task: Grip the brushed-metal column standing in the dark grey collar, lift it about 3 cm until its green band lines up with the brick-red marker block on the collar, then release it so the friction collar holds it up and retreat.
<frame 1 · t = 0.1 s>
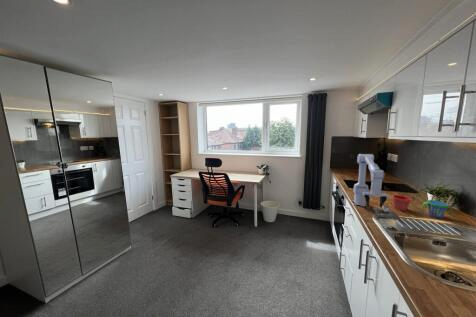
hand: (374, 206, 128), 10 cm above the counter, fingers open, 7 cm apart
collar: (384, 214, 137), on the counter
column: (385, 210, 137), point 3 cm above the counter, slide at 0.0 cm
snack cup: (435, 216, 134), on the counter
flower pot: (399, 209, 147), on the counter
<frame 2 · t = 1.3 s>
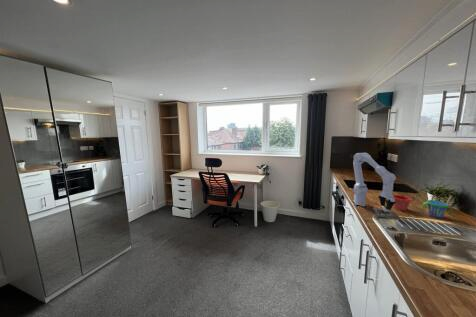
hand: (385, 207, 136), 6 cm above the counter, fingers open, 7 cm apart
nothing on the counter moved.
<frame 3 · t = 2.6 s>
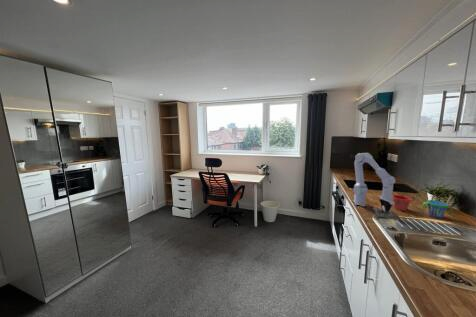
hand: (385, 210, 137), 3 cm above the counter, fingers closed on column, 4 cm apart
column: (385, 210, 137), point 3 cm above the counter, slide at 0.0 cm, touching gripper
everything else where it was.
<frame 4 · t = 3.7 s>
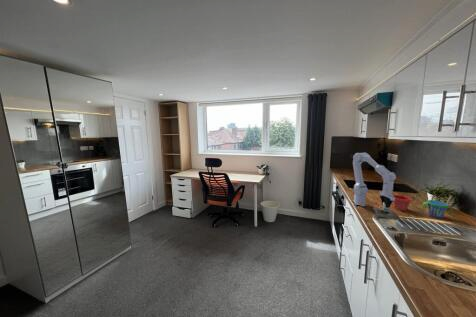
hand: (385, 206, 136), 6 cm above the counter, fingers closed on column, 4 cm apart
column: (385, 207, 136), point 6 cm above the counter, slide at 2.6 cm, touching gripper
everything else where it was.
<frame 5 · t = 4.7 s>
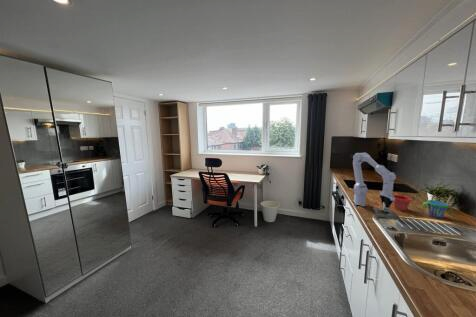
hand: (385, 206, 136), 6 cm above the counter, fingers closed on column, 3 cm apart
column: (385, 207, 136), point 6 cm above the counter, slide at 2.6 cm, touching gripper
everything else where it was.
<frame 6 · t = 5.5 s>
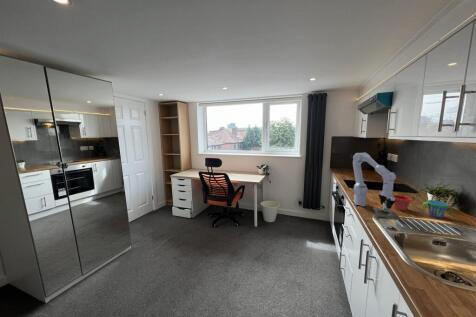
hand: (385, 206, 136), 6 cm above the counter, fingers open, 7 cm apart
column: (385, 207, 136), point 6 cm above the counter, slide at 2.6 cm
everything else where it was.
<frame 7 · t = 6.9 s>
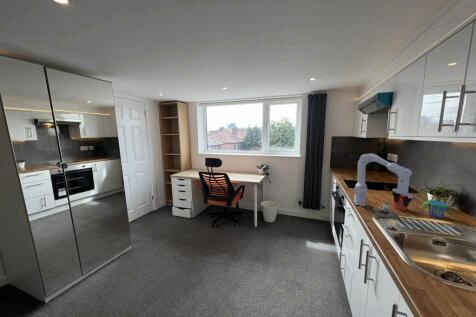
hand: (400, 204, 130), 10 cm above the counter, fingers open, 7 cm apart
nothing on the counter moved.
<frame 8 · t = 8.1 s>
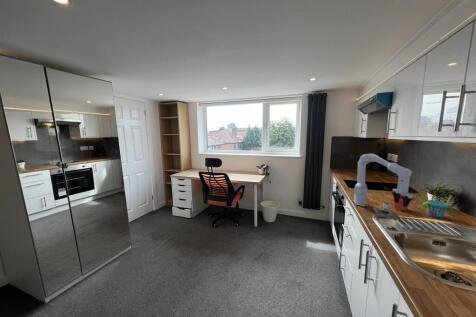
hand: (400, 204, 130), 10 cm above the counter, fingers open, 7 cm apart
nothing on the counter moved.
at the end: column slide at 2.6 cm; the gripper is holding nothing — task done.
